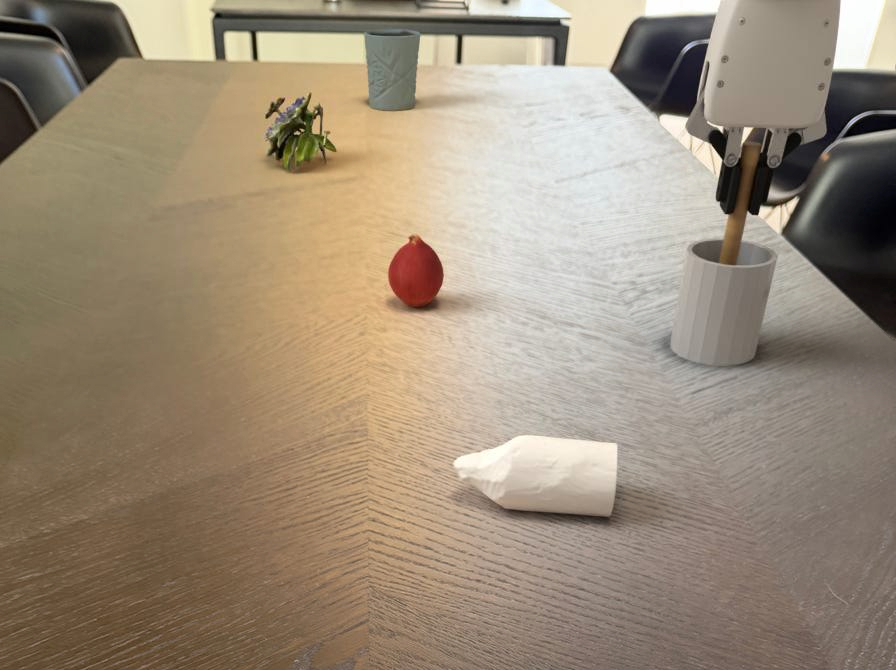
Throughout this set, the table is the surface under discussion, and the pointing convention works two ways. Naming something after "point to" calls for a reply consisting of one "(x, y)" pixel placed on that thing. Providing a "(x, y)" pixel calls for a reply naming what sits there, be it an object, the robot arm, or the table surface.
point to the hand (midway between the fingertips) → (738, 209)
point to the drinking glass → (392, 68)
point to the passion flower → (287, 142)
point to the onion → (416, 273)
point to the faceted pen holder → (722, 303)
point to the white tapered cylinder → (546, 475)
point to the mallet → (740, 204)
